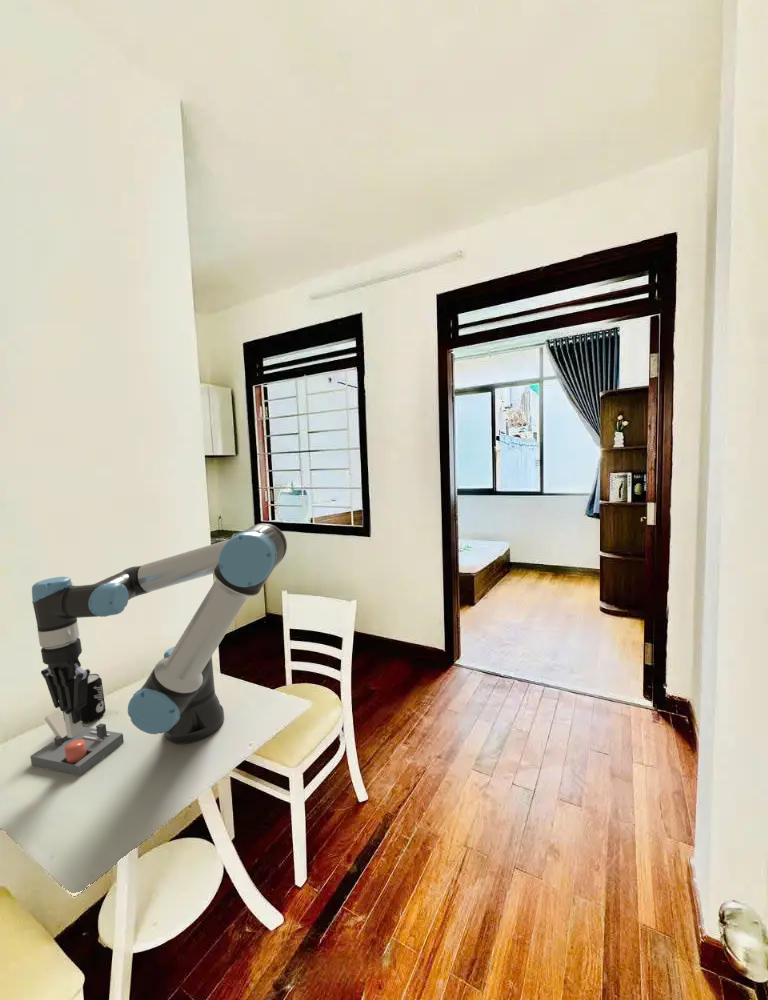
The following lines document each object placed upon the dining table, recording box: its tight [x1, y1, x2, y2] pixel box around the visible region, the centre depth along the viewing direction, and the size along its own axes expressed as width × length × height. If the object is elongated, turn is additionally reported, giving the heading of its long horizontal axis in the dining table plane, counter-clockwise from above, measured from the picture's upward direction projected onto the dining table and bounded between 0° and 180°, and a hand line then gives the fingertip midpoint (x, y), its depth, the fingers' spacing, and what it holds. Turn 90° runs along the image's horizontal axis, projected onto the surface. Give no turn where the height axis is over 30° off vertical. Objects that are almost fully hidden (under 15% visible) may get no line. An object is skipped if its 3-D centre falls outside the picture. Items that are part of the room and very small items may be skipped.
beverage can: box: [80, 673, 106, 724], centre depth 123 cm, size 7×7×12 cm
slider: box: [95, 723, 108, 738], centre depth 109 cm, size 2×1×3 cm, turn 74°
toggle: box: [44, 709, 69, 742], centre depth 110 cm, size 1×3×8 cm
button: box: [65, 739, 87, 764], centre depth 103 cm, size 4×4×5 cm
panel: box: [29, 725, 125, 777], centre depth 107 cm, size 16×12×4 cm
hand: (75, 733), depth 102 cm, fingers closed
